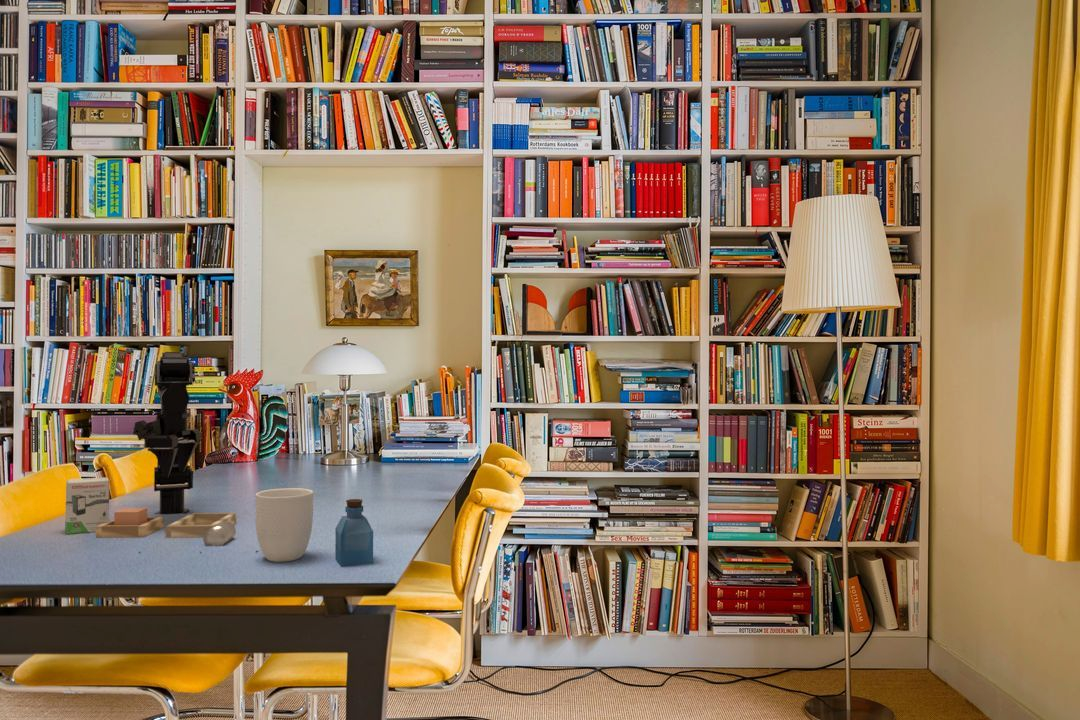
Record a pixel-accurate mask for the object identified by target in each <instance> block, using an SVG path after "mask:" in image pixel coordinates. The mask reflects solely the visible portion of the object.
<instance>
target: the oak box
mask: <svg viewBox="0 0 1080 720" xmlns="http://www.w3.org/2000/svg"><path fill="white" fill-rule="evenodd" d="M164 519H165V518H164V516H147V522H146V523H144V524H142V525H114V519H111V520H110V519H109V521H108V522H106V523H103V524H101V525H98V526H96V532H95V539H97V538H98V539H101V538H102V539H104V538H105V539H106V538H107V539H108V538H111V539H113V538H114V539H115V538H116V539H117V538H118V539H119V538H121V539H122V538H127V539H129V538H146V537H147V536H150V535H152V534H155V533H156V532H158V531H160V530H162V529H164V525H165V523H164V522H165V520H164Z"/></svg>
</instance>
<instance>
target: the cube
mask: <svg viewBox="0 0 1080 720" xmlns="http://www.w3.org/2000/svg"><path fill="white" fill-rule="evenodd" d="M113 516H114V517H113V518H114V525H142V524H144V523H146V522H147V517H148V507H124V508H121V509H119V510H115V511H114V513H113Z"/></svg>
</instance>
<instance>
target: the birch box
mask: <svg viewBox="0 0 1080 720" xmlns="http://www.w3.org/2000/svg"><path fill="white" fill-rule="evenodd" d="M223 521H228V522H231V523H232V524H233V525H234V526H235V525H236V524H237V512H192V513H190V514H188V515H186V516H184V517H182V518H180V519H178V520H176V521H174V522H172V523H170V524H168V525H166V526H165V534H164V535H165V538H166V539H171V538H172V539H177V538H179V539H181V538H184V539H186V538H191V539H192V538H193V539H194V538H196V539H197V538H198V539H199V538H201V539H202V538H203V536H204V534H205V532H206V531H207V530H209V529H210V528H212V527H214V526H215V525H217V524H219V523H221V522H223Z"/></svg>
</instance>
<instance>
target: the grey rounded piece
mask: <svg viewBox="0 0 1080 720" xmlns="http://www.w3.org/2000/svg"><path fill="white" fill-rule="evenodd" d="M236 531H237V530H236V526H235V524H234V525H233V524H232V523H231V522H228V521H223V522H221V523H219V524H217V525H215V526H214V527H212V528H210V529H209V530H207V531H206V532H205V534H204V536H203V541H202V542H203V544H204V545H205V546H206V547H211V546H212V547H217V546H218V547H222V546H224V545H225V544H226V543H228V542H230V541H231V540H232V539H234V537H235V536H236V533H237V532H236Z"/></svg>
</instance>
